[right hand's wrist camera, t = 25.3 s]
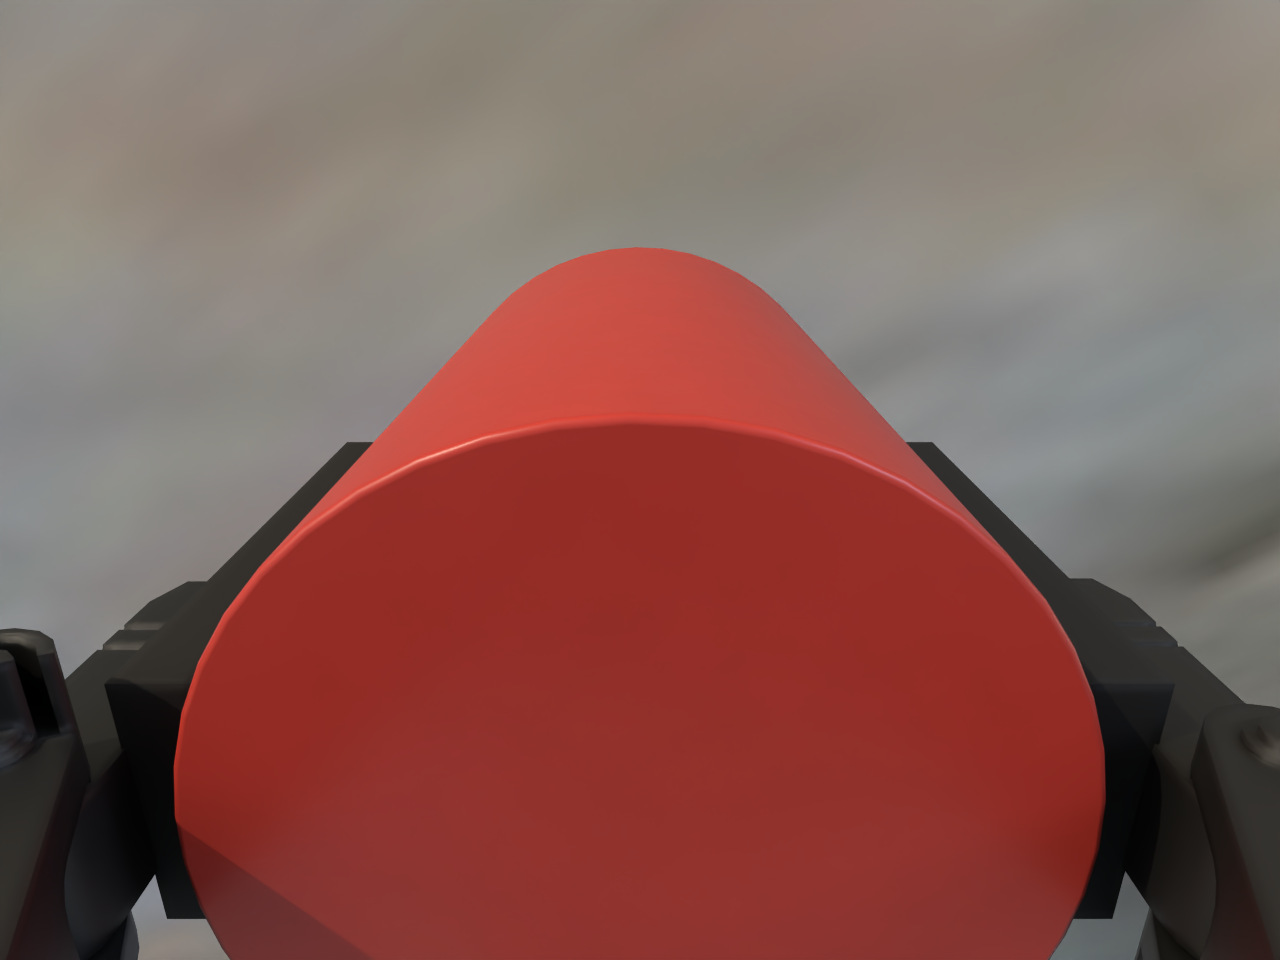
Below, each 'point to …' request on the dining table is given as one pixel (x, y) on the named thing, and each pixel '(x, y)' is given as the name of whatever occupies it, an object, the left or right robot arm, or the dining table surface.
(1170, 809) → the right robot arm
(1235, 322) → the dining table surface
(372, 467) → the canister
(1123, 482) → the dining table surface
